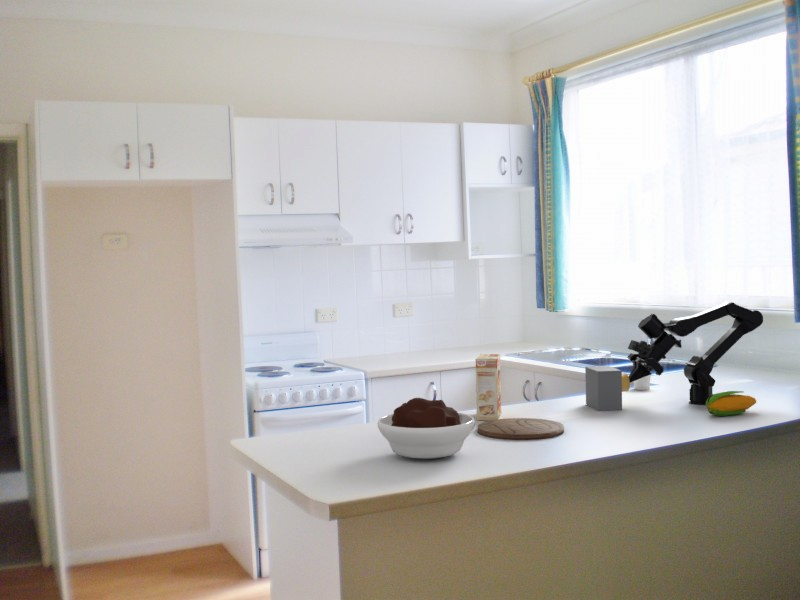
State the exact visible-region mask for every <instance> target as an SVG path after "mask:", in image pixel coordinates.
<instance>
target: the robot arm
mask: <svg viewBox="0 0 800 600" xmlns="http://www.w3.org/2000/svg"><path fill="white" fill-rule="evenodd" d="M727 316H730V317H731V318H733V319H734V320H733V323H732V325H731V327H730V328H729V329H728V330H727V331H726V332H725V333H724V334H723V335H722V336H721V337H720V338H719V339H718V340H717V341H716V342H714V344H713V345H712V346H711V347H710V348H709V349H708V350H707V351H706V352H705V353H704V354H703V355H701V356H700V355H699V356H697V355H692V356H691V358H690V359H689V361H687V362H685V366H684V368H683V374H684V376H685V378H687V380H688V382H689V384H690V388H689V401H688V404H693V405H694V404H695V405H705V406H706V401H707V399H708V398H709V397H710V396H711V395H712V394H714V393H713V387H714V386H715V383H716V379H715V378H714V377H712V376H711V375H710V374H711V373H712V372H713V368H714V365H715V364H716V363H717V362H718V361H719V360H720V359H721V358H722V357H723V356H724V355H725V354H726V353H727V352H728V351H730V350H731V348H732V347H733V346H734V345H735V344H736V343H737V342H739V340H741V338H743V336H745V335H747V334H749V333H752V332H753V331H755V330H756V329H758V328H759V327H760V326H761V325H762V324H763V323H764V315H763V314H762V312H760V311H759V310H757V309H756V310H755V309H748V308H747V307H744V306H740V305H738V304H736V303H734V302H730V301H723V302H722V304H718V305H716V306H714V307H711V308H709V309H706V310H703V311H702V312H698V313H696V314H693V315H689V316H683V317H677V318H672V319H670V321H668V322H662V321H661V320H660V318H658V316H657V315H656V314H655V313H650V314H649V316H646V317H644V319H641V321H640V322H639V323H638V326H637V327H638V328H639V330H641V332H643V333H644V334H645V335H646V337H647V338H649V339H651V340H652V339H655V340H654V341H653V342H652V343H648V342H647V341H644V340H640V341H636V340H632V339H631V340H630V342H629V344H628V346H627V349H628V350H631V351H634V352H631V353H629V354H628V355H627V360H629V361H630V362H631V363H632V365H633V366H632V369H631V371H630V373H629V374H628V377H629V380H630V384H631V383H634V381H636V380H638V379H640V378H643V377H646V376H648V375H652V372H653V371H654V372H655V375H656V376H661V375H662V374H663V373H664V366H663V365H661V364H660V362H661V361H662V360H666V358H667V356H666V355H667V354H668V353H669V352H670V351H671V350H672V349H673V348H674V347H676V348H678V349H681V348H682V340H681V339H679V338H676V336H677V337H681V338H685V337H687V336H689V335H690V334H692V333H694V332H695V331H696V330H697V329H698V328H699V327H701V326H703V325H707V324H709V323H711V322H714V321H716V320H719V319H722V318H724V317H727ZM668 332H669V333H668Z"/></svg>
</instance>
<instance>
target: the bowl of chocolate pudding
mask: <svg viewBox="0 0 800 600" xmlns="http://www.w3.org/2000/svg"><path fill="white" fill-rule="evenodd" d="M377 420H378V421H377V428H378V430H379V432H380V434H381V435H382V436H383V437H384V439H386V441H387V442H388V443H389V446H390V449H391V450H392V452H393V453H395V454H396V455H398V456H400V457H405V458H411V459H416V460H434V459H439V458H446V457H449V456H453V455H456V454H457V453H459V452H460V451H461V449H462V447H463V445H464V442H465V440H466V439H467V437H469V436H470V434H471V433H472V431H473V429H474V427H475V423H476V422H475V418H474V417H473V416H472V415H470V414H467V413H463V412H458V411H457V410H456V409H454V408H453V407H450V406H447V405H446V403H445V402H444V400H443V399H438V400H437V399H434V400H430V399H425V398H423V397H414V398H411V399H409V400H408V401H407V402H403V403H402V404H401V405H400V406H397V407H396V408H395V409H394V410H393V413H391V414H388V415H385V416H382V417H380V418H379V419H377Z"/></svg>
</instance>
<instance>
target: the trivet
mask: <svg viewBox="0 0 800 600" xmlns="http://www.w3.org/2000/svg"><path fill="white" fill-rule="evenodd" d="M477 433H478V434H479V435H480V436H483V437H487V438H491V439H497V440H504V441H505V440H506V441H507V440H508V441H536V440H537V441H538V440H546V439H552V438H556V437H559V436H561V435H563V434H564V433H565V426H564V424H562V423H561V422H558V421H554V420H550V419H543V418H532V417H531V418H529V417H528V418H527V417H510V418H509V417H508V418H499V419H497V420H490V421H489V420H485V421H483V422H480V423H479V424H478V425H477Z"/></svg>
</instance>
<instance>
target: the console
mask: <svg viewBox="0 0 800 600" xmlns="http://www.w3.org/2000/svg"><path fill="white" fill-rule="evenodd" d="M584 370H585V405H586V404H587V405H586V406H588V405H589V406H588V407H591V408H592V409H593V410H595V411H597V412H602V411H603V412H605V411H623V392H622V374H623V372H622V370H620V369H618V368H615V367H612V366H609V365H597V366H596V365H595V366H585V367H584Z"/></svg>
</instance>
